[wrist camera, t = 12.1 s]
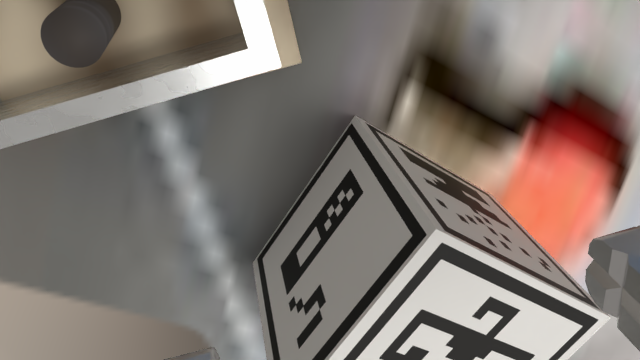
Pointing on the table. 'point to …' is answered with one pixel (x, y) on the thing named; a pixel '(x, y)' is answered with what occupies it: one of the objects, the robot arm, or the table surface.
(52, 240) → the table surface
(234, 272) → the table surface
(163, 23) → the plate
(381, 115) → the table surface
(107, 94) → the silver rectangular frame
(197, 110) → the table surface
